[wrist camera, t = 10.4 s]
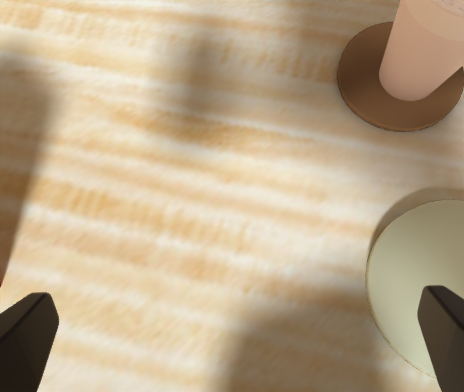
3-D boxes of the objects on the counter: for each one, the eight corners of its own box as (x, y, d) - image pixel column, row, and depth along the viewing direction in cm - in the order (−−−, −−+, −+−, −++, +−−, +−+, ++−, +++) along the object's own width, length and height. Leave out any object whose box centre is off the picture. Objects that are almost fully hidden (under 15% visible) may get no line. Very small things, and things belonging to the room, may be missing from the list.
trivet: (483, 105, 25) (488, 101, 24) (370, 149, 25) (373, 145, 24) (422, 12, 27) (425, 6, 27) (318, 51, 27) (319, 45, 26)
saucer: (587, 343, 21) (603, 344, 20) (418, 414, 20) (426, 419, 19) (486, 180, 24) (495, 175, 23) (336, 239, 23) (339, 236, 22)
